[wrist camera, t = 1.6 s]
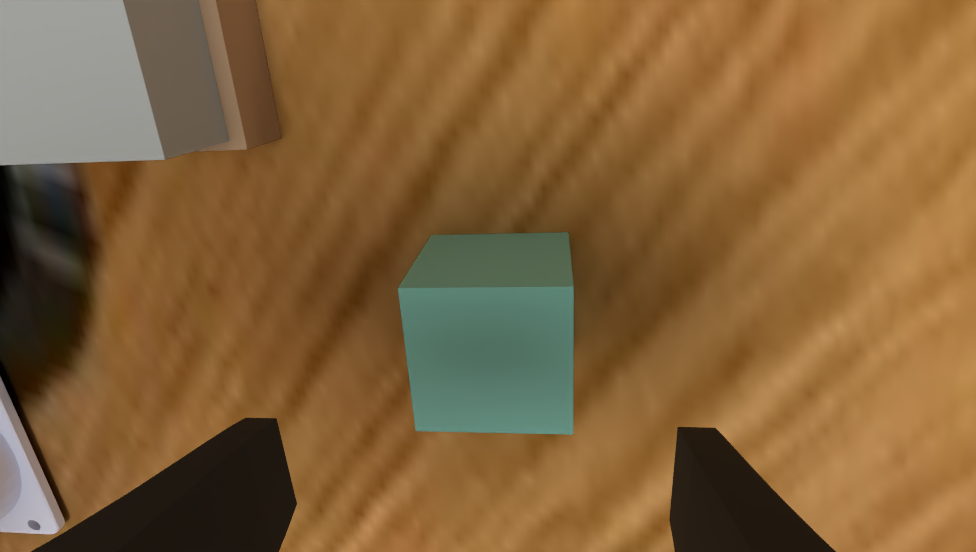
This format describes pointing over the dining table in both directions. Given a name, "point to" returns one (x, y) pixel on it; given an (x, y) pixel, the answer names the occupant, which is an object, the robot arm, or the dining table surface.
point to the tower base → (240, 73)
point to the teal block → (491, 333)
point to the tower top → (105, 81)
